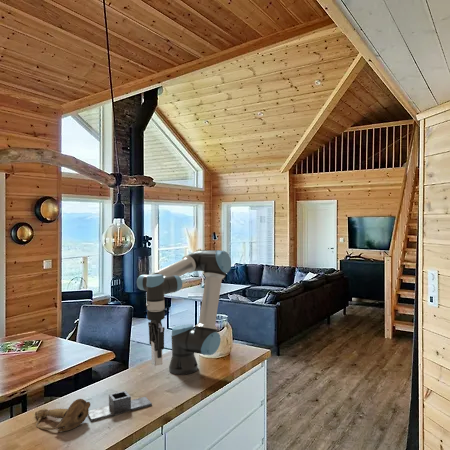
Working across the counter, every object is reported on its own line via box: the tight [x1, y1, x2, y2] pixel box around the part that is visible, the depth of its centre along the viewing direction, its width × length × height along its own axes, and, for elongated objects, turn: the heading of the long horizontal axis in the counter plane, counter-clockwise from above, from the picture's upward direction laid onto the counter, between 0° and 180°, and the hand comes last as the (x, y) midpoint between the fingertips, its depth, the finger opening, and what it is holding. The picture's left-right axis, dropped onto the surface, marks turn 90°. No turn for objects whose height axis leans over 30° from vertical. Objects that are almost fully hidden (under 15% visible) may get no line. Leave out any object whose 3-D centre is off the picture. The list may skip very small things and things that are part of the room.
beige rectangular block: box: [150, 340, 164, 367], centre depth 178 cm, size 4×4×10 cm
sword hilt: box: [34, 398, 91, 433], centre depth 161 cm, size 10×24×15 cm
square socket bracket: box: [87, 390, 153, 423], centre depth 170 cm, size 25×8×6 cm, turn 121°
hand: (156, 363), depth 178 cm, fingers closed on beige rectangular block, 4 cm apart
